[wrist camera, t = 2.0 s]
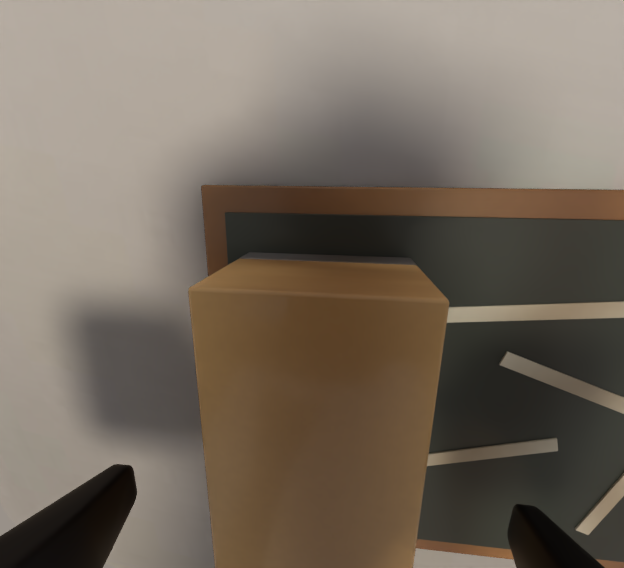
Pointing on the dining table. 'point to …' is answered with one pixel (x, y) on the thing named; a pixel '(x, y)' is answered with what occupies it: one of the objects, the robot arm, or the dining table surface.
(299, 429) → the eraser
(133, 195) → the dining table surface
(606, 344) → the slate board
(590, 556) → the robot arm
